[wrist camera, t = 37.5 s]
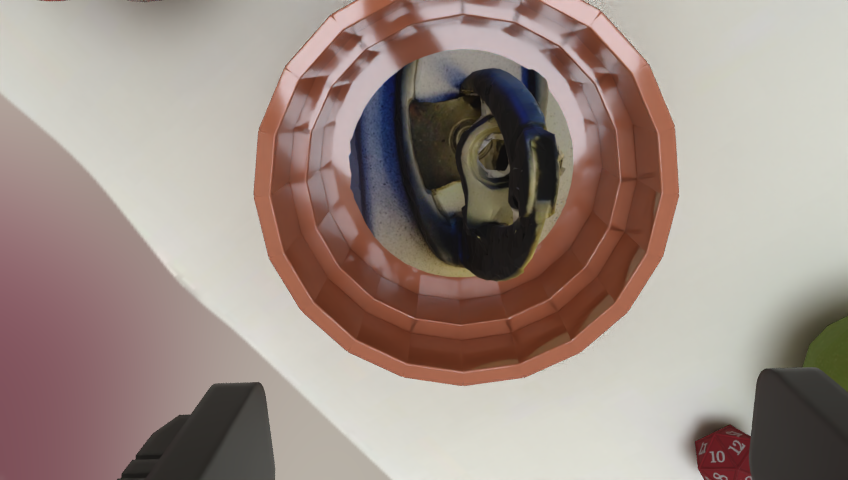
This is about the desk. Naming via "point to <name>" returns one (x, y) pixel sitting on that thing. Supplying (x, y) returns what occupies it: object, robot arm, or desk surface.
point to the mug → (129, 0)
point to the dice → (724, 455)
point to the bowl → (471, 296)
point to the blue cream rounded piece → (462, 164)
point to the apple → (831, 352)
